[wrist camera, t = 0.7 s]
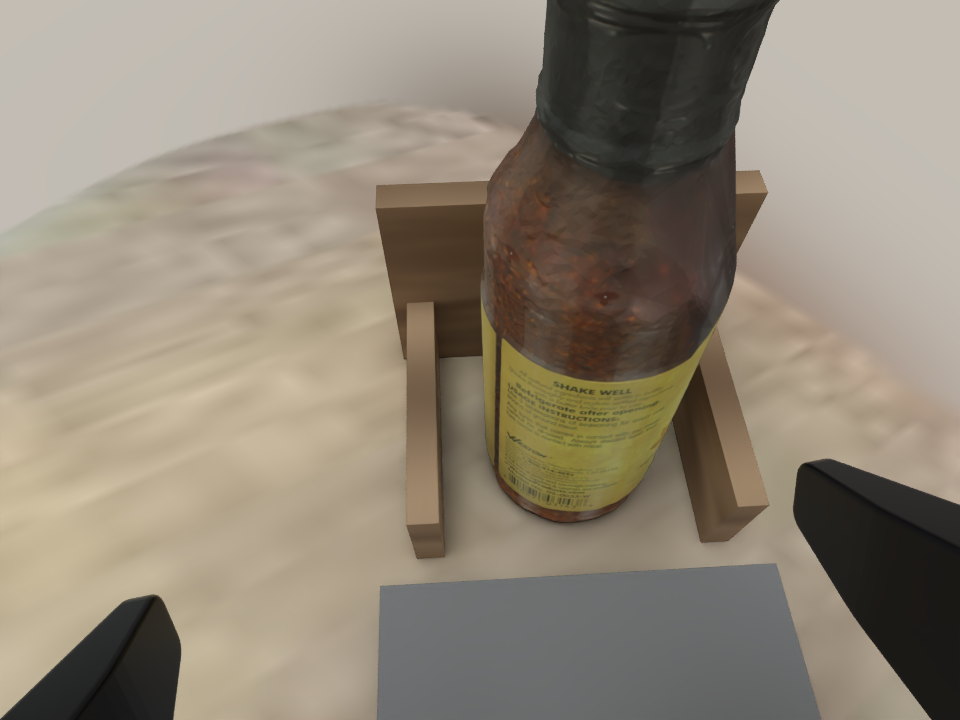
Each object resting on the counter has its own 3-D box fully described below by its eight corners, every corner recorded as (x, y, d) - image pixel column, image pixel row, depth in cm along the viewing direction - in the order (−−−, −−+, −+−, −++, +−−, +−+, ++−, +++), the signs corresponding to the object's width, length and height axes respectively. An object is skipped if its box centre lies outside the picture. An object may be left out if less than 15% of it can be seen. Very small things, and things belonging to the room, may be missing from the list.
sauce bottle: (674, 483, 25) (1083, -87, 8) (532, 559, 24) (670, 53, 7) (583, 355, 28) (743, -257, 11) (453, 414, 27) (407, -188, 10)
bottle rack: (741, 540, 24) (865, 437, 16) (403, 559, 24) (366, 463, 16) (684, 326, 29) (759, 170, 21) (404, 339, 28) (376, 185, 21)
